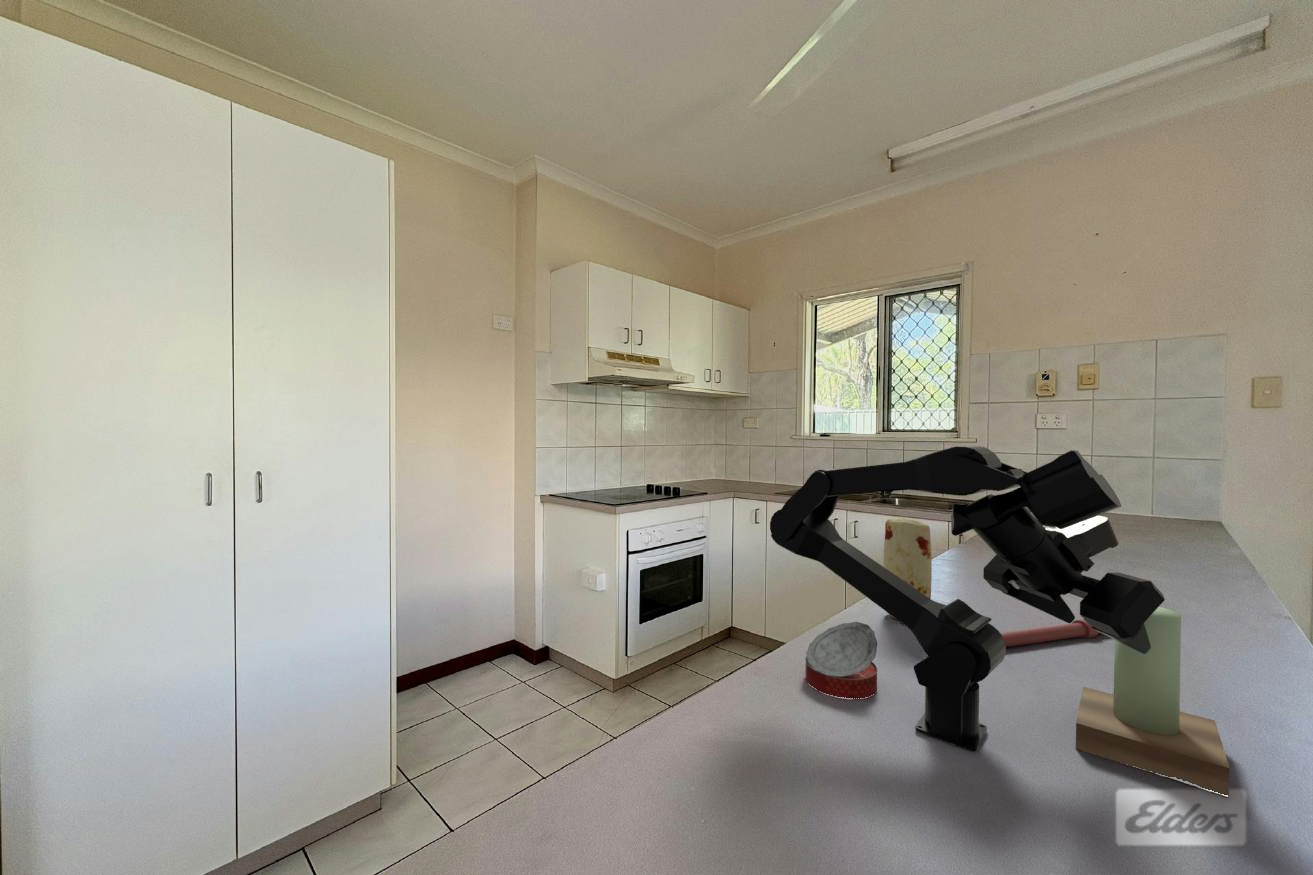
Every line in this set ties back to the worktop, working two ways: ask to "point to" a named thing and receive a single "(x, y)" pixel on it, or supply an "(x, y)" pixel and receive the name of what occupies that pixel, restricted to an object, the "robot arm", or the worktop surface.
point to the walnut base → (1154, 744)
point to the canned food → (843, 661)
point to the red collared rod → (1049, 633)
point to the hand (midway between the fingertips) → (1106, 634)
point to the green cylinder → (1150, 677)
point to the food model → (909, 553)
